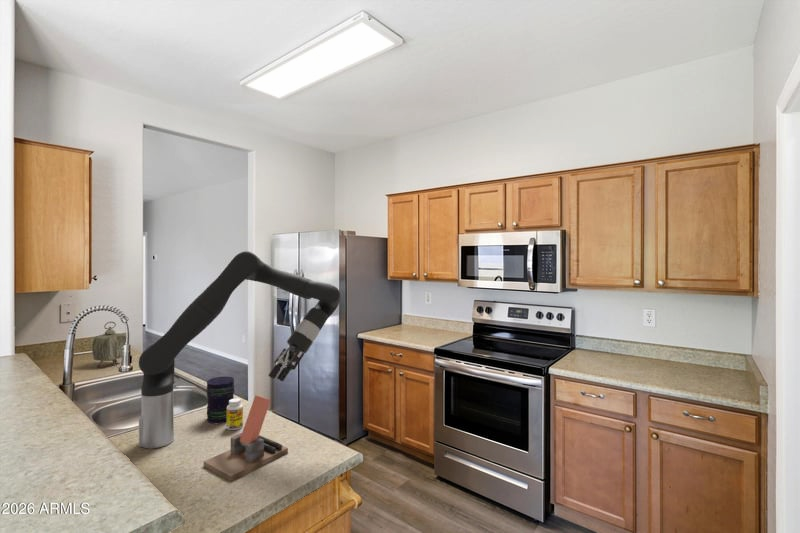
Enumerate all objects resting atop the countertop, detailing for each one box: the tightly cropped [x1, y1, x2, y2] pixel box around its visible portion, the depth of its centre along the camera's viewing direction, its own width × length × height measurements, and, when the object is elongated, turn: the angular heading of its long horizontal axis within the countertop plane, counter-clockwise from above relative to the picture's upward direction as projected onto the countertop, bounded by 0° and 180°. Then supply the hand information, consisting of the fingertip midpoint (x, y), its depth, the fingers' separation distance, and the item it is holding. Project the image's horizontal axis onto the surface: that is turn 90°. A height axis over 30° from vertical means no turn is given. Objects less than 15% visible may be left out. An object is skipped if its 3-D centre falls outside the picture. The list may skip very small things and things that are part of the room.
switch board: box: [203, 432, 289, 482], centre depth 124 cm, size 20×14×6 cm
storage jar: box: [206, 376, 235, 424], centre depth 155 cm, size 10×10×15 cm
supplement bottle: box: [226, 397, 244, 431], centre depth 147 cm, size 6×6×10 cm
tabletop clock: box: [91, 321, 127, 369], centre depth 228 cm, size 14×9×25 cm, turn 168°
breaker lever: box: [239, 394, 272, 447], centre depth 126 cm, size 2×5×15 cm, turn 56°
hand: (275, 378), depth 129 cm, fingers open, 8 cm apart
